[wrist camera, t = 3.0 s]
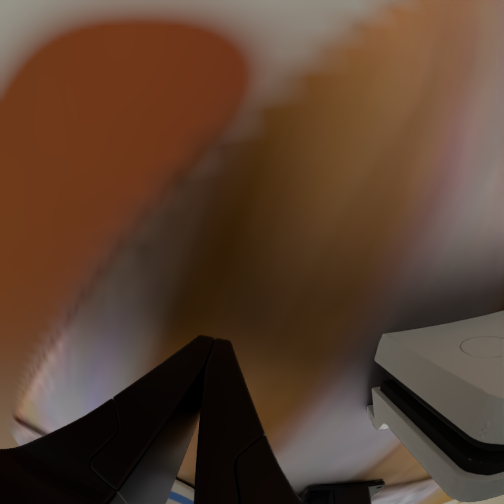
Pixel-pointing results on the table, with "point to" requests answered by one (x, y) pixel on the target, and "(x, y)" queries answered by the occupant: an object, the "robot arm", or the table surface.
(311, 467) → the table surface
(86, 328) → the table surface
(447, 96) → the table surface
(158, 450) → the robot arm
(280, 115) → the table surface
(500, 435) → the white rounded block
